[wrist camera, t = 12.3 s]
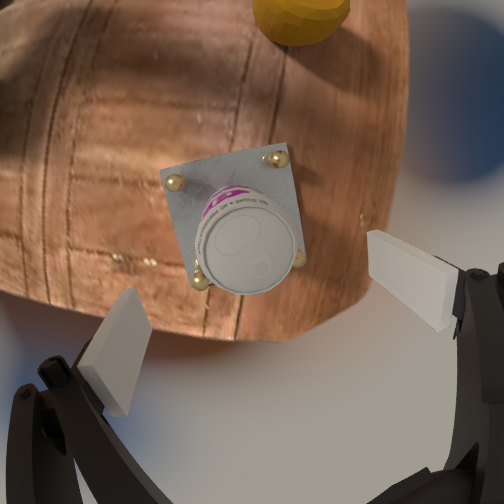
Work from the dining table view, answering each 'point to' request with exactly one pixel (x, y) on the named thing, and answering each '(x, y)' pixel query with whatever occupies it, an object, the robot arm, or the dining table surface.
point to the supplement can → (245, 241)
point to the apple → (299, 19)
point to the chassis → (221, 175)
